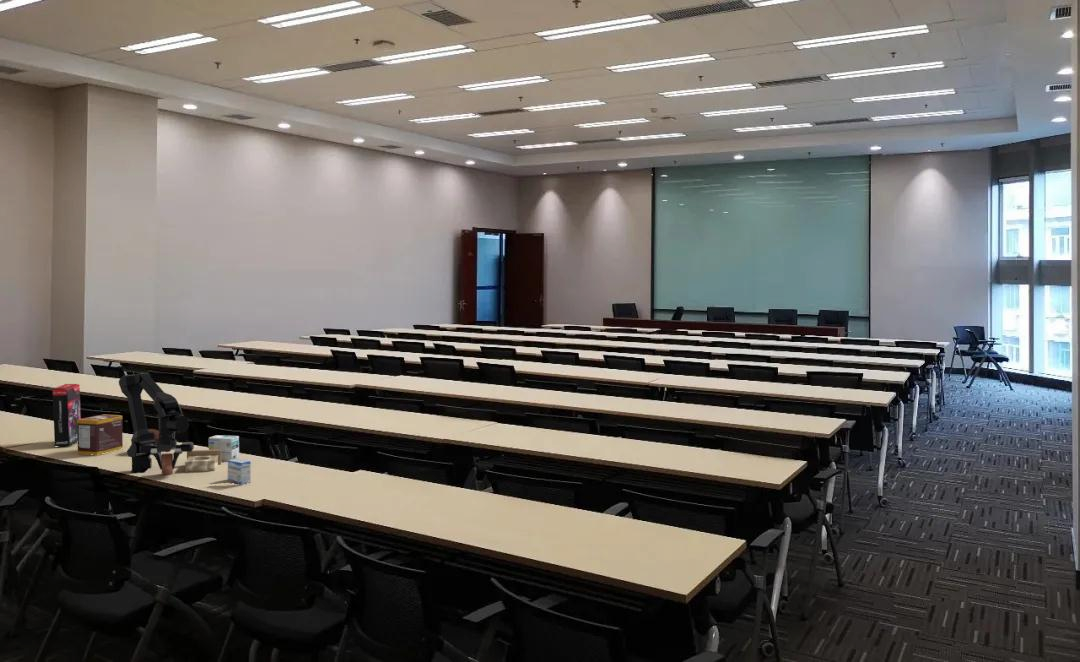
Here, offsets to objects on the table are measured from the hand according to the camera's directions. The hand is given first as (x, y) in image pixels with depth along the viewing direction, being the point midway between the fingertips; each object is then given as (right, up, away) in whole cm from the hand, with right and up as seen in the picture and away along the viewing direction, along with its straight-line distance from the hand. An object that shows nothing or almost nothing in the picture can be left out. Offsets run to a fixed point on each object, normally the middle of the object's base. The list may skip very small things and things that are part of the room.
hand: (167, 469), depth 314 cm
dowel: (0, -3, 0) cm, 3 cm away
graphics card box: (-74, +1, +59) cm, 94 cm away
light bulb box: (+11, -2, +29) cm, 31 cm away
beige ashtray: (+9, -1, +11) cm, 14 cm away
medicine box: (+31, -4, -7) cm, 32 cm away
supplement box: (-50, 0, +44) cm, 66 cm away
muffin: (-29, 0, +45) cm, 54 cm away
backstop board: (+10, -3, +9) cm, 13 cm away
